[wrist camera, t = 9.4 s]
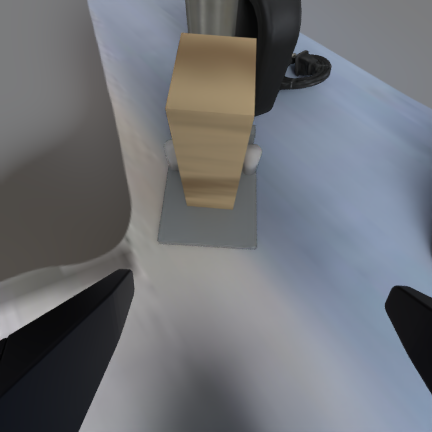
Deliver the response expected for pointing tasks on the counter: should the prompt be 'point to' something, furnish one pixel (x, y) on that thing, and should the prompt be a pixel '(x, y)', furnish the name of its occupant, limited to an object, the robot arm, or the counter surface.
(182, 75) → the oak block
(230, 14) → the milk frother
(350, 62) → the counter surface
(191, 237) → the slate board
